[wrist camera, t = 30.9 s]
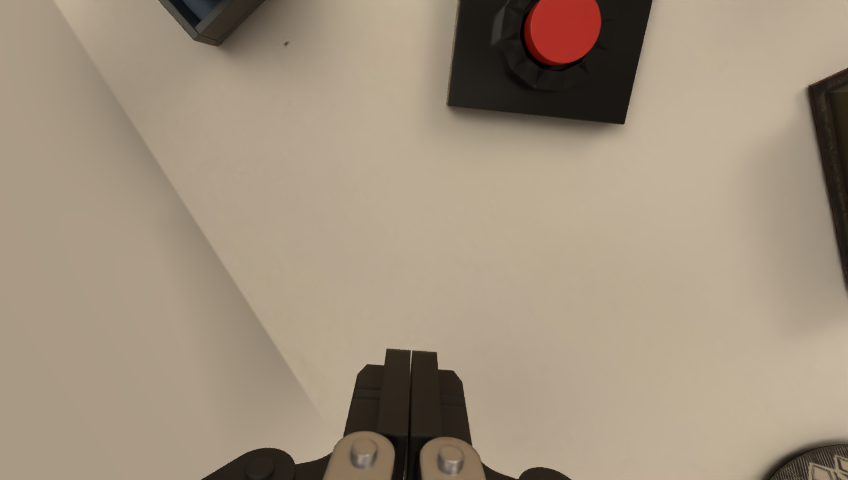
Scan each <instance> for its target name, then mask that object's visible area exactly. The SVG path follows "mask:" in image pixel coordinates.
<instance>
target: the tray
mask: <svg viewBox="0 0 848 480" xmlns="http://www.w3.org/2000/svg"><path fill="white" fill-rule="evenodd" d="M159 1H160V3H161V4H162V5H163V6H164V7H165V8H166V9H167V10H168V12H169V13H170V14H171V15H172V16H173V17H174V18H175V19H176V21H177V22H178V23H179V24H180V25H181V26H182V27H183V28H184V30H185V31H186V32H187V33H188V34H189V35H190V36H191V37H192V39H193V40H195V41H199V42H202V43H206V44H209V45H213V46H217V47H218V46H219V45H220V44H221V43H222V42H223V41H224V40H225V39H226V38H227V37H228V36H229V35H230V34H231V33H232V32H233V31H234V30H235V29H236V28H237V27H238V26H239V25H240V24H241V23H242V22H243V21H244V20H245V19H246V18H247V17H248V16H249V15H250V14H251V13H252V12H253V11H254V10H255V9H256V8H257V7H258V6H259V5H260V4H261V3H262V2H263V1H264V0H159Z"/></svg>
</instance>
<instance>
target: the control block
mask: <svg viewBox="0 0 848 480" xmlns="http://www.w3.org/2000/svg"><path fill="white" fill-rule="evenodd" d="M538 1H539V0H458V3H457V12H456V20H455V29H454V38H453V47H452V56H451V65H450V74H449V83H448V92H447V101H446V105H447V106H454V107H463V108H473V109H482V110H491V111H500V112H510V113H519V114H528V115H538V116H547V117H556V118H566V119H575V120H584V121H594V122H603V123H612V124H624V123H625V118H626V114H627V110H628V105H629V101H630V96H631V92H632V88H633V83H634V79H635V75H636V70H637V66H638V62H639V57H640V53H641V48H642V44H643V40H644V35H645V31H646V27H647V22H648V18H649V14H650V9H651V5H652V0H595V1H596V3H597V5H598V7H599V10H600V15H601V27H600V32H599V35H598V38H597V40H596V42H595V44H594V45H593V47H592V48H591V49H590V50H589V52H588V53H586V54H585V55H584V56H583V57H581V58H580V59H578V60H576V61H573V62H570V63H566V64H563V65H557V66H551V65H546V64H543V63H541V62H539V61H538V60H536V59H535V58H534V57H533V56H532V55H531V53H530V52H529V50H528V48H527V46H526V43H525V38H524V26H525V22H526V19H527V16H528V14H529V12H530V11H531V9H532V8H533V7H534V5H535V4H536V3H537V2H538Z"/></svg>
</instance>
